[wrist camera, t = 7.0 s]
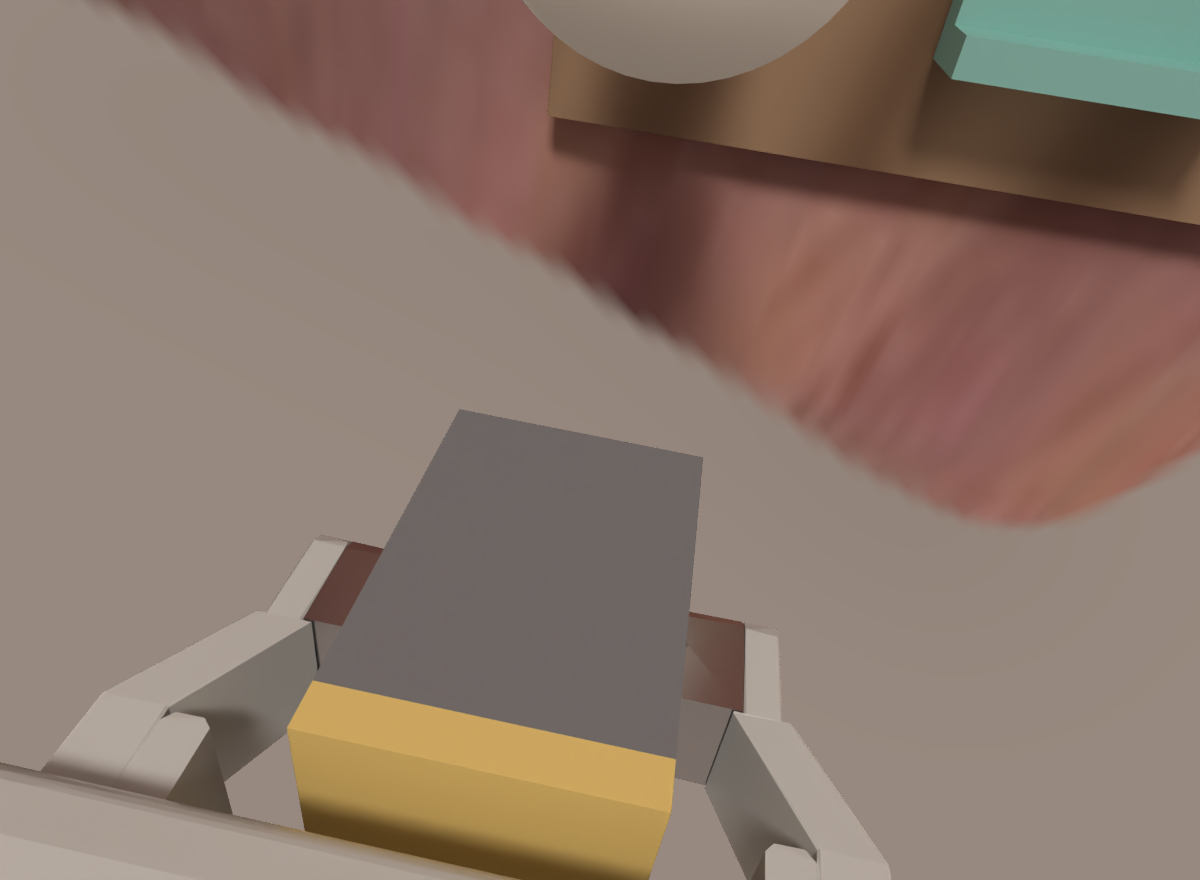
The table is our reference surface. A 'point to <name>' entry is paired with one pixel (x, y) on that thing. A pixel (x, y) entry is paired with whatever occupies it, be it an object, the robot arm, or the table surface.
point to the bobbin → (683, 33)
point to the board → (906, 117)
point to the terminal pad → (1080, 50)
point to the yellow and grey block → (513, 661)
